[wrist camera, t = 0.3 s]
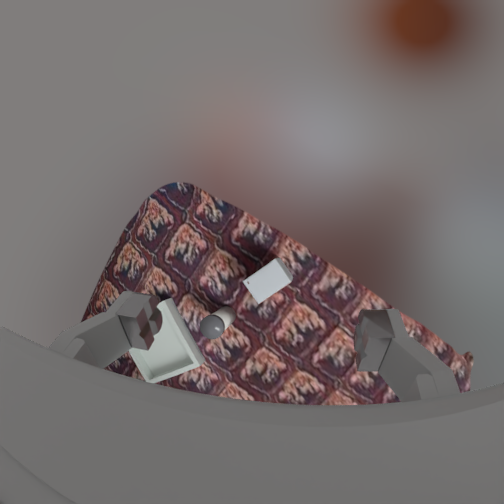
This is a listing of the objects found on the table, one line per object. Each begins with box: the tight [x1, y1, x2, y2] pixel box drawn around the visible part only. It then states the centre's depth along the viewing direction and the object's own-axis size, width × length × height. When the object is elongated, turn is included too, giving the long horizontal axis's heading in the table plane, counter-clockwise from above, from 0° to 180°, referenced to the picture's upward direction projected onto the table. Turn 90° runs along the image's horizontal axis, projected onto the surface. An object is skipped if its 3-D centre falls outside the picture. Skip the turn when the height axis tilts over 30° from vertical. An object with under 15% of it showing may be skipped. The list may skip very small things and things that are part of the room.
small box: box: [243, 258, 293, 304], centre depth 59 cm, size 8×6×10 cm
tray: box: [129, 298, 205, 383], centre depth 67 cm, size 18×18×4 cm
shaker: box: [200, 306, 236, 339], centre depth 60 cm, size 5×5×12 cm
